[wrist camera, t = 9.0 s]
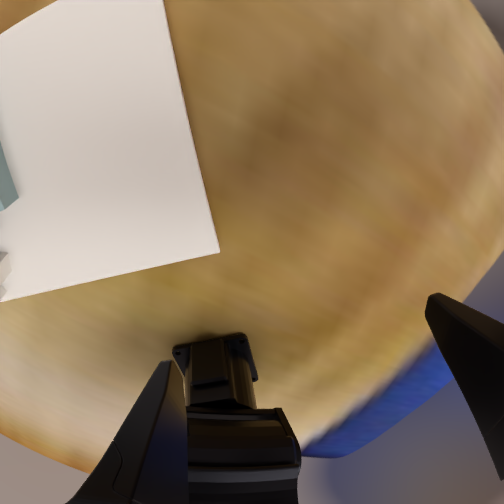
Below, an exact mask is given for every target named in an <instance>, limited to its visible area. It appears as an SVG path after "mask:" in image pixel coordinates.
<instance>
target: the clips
mask: <svg viewBox="0 0 504 504" xmlns="http://www.w3.org/2000/svg"><path fill="white" fill-rule="evenodd" d="M11 271H12V269H11V265H10V260H9V255H8V253H4V252H1V254H0V301H1V299H2V298H3V296H4V295H5V293H6V292H7V290H6V289H5V288H4V287H3V286H2V283H3V282H4V281H5V279H6V278H7V277H8V275H9V274H10V273H11Z"/></svg>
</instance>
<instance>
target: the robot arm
mask: <svg viewBox="0 0 504 504" xmlns="http://www.w3.org/2000/svg"><path fill="white" fill-rule="evenodd" d="M425 318H426V320H427V322H428V325H429V327H430V329H431V331H432V333H433V336H434V338H435V340H436V343H437V345H438V347H439V349H440V352H441V353H442V355H443V357H444V359H445V361H446V363H447V365H448V366H449V368H450V370H451V372H452V374H453V376H454V378H455V380H456V381H457V383H458V385H459V387H460V389H461V391H462V393H463V395H464V397H465V399H466V401H467V403H468V405H469V408H470V410H471V412H472V414H473V416H474V418H475V420H476V422H477V425H478V427H479V429H480V431H481V434H482V436H483V438H484V441H485V443H486V445H487V448H488V450H489V453H490V455H491V457H492V460H493V462H494V465H495V468H496V470H497V473H498V476H499V478H500V480H501V481H502V480H503V479H504V324H503V323H501V322H499V321H497V320H495V319H493V318H491V317H489V316H487V315H485V314H483V313H481V312H479V311H477V310H475V309H473V308H470V307H469V306H466V305H464V304H462V303H460V302H458V301H456V300H454V299H452V298H450V297H448V296H446V295H444V294H441V293H435V294H432V295H430V296H429V297H428V300H427V305H426V309H425ZM241 339H243V340H241ZM177 351H179V352H177ZM172 354H173V356H174V358H175V360H176V362H177V364H178V366H179V367H180V369H181V371H182V373H183V375H184V377H185V398H184V389H183V380H182V376H181V373H180V372H179V370H178V368H177V366H176V364H175V363H174V361H173V360H165V361H161V362H160V363H159V364H158V366H157V368H156V369H155V371H154V373H153V374H152V376H151V378H150V379H149V381H148V382H147V384H146V386H145V387H144V389H143V391H142V392H141V394H140V396H139V397H138V399H137V401H136V402H135V404H134V406H133V407H132V409H131V411H130V412H129V414H128V416H127V417H126V419H125V421H124V422H123V424H122V426H121V427H120V429H119V431H118V432H117V434H116V436H115V437H114V439H113V440H114V441H112V442H111V444H110V446H109V447H108V449H107V451H106V452H105V454H104V455H103V457H102V459H101V460H100V462H99V463H98V465H97V466H96V467H95V469H94V470H93V472H92V473H91V474H90V476H89V477H88V478H87V480H86V481H85V482H84V483H83V485H82V486H81V488H80V489H79V490H78V491H77V493H76V494H75V495H74V496H73V498H71V499H70V500H69V501H68V502H67V503H65V504H298V495H297V478H298V475H299V472H300V468H301V450H300V446H299V443H298V440H297V438H296V436H295V434H294V432H293V430H292V428H291V426H290V424H289V422H288V420H287V418H286V416H285V414H284V412H283V410H282V408H274V409H257V406H256V400H255V395H254V389H253V383H252V382H256V381H257V380H258V374H257V371H256V367H255V364H254V360H253V357H252V353H251V349H250V346H249V342H248V339H247V336H246V335H245V334H238V335H233V336H228V337H223V338H218V339H213V340H208V341H203V342H197V343H191V344H186V345H180V346H175V347H173V349H172Z"/></svg>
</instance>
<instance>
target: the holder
mask: <svg viewBox="0 0 504 504" xmlns="http://www.w3.org/2000/svg"><path fill="white" fill-rule="evenodd" d="M18 198H19V196H18V194H17V191H16V188H15V186H14V183H13V180H12V177H11V174H10V171H9V168H8V165H7V162H6V159H5V156H4V152H3V149H2V146H1V142H0V212H1V211H3V210H5V209H6V208H7V207H8V206H10V205H11V204H12V203H13V202H15V201H16V200H17V199H18Z"/></svg>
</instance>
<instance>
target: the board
mask: <svg viewBox="0 0 504 504" xmlns="http://www.w3.org/2000/svg"><path fill="white" fill-rule="evenodd" d="M0 142H1V146H2V149H3V152H4V156H5V159H6V162H7V165H8V168H9V171H10V174H11V177H12V180H13V183H14V186H15V188H16V191H17V194H18V196H19V198H18V199H17V200H16V201H15V202H13V203H12V204H11V205H10V206H8V207H7V208H6V209H5V210H3V211H1V212H0V254H1V252H4V253H8V255H9V260H10V265H11V269H12V271H11V273H10V274H9V275H8V277H7V278H6V279H5V281H4V282H3V283H2V286H3V287H4V288H5V289H6V290H7V292H6V293H5V295H4V296H3V298H2V299H1V301H0V302H3V301H7V300H12V299H16V298H20V297H25V296H29V295H33V294H38V293H42V292H46V291H51V290H55V289H59V288H64V287H68V286H72V285H77V284H81V283H85V282H90V281H94V280H99V279H103V278H107V277H112V276H116V275H121V274H125V273H130V272H134V271H138V270H143V269H147V268H152V267H156V266H161V265H165V264H170V263H174V262H179V261H183V260H188V259H192V258H197V257H201V256H206V255H210V254H215V253H219V252H220V246H219V242H218V239H217V235H216V231H215V227H214V223H213V219H212V215H211V211H210V207H209V203H208V199H207V195H206V191H205V187H204V183H203V179H202V175H201V171H200V166H199V162H198V158H197V154H196V150H195V145H194V141H193V137H192V132H191V128H190V124H189V119H188V115H187V111H186V106H185V102H184V97H183V93H182V88H181V84H180V79H179V74H178V70H177V65H176V60H175V55H174V51H173V46H172V41H171V36H170V31H169V26H168V21H167V16H166V11H165V6H164V0H58V1H56V2H54V3H52V4H50V5H48V6H46V7H45V8H43V9H41V10H39V11H37V12H36V13H34V14H32V15H30V16H29V17H27V18H25V19H24V20H22V21H20V22H19V23H17V24H15V25H14V26H12V27H11V28H9V29H8V30H6V31H5V32H3V33H2V34H0Z"/></svg>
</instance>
